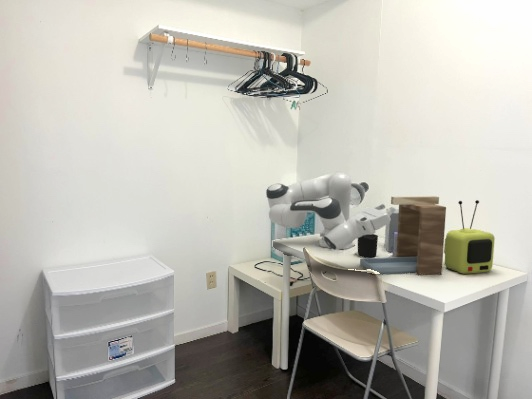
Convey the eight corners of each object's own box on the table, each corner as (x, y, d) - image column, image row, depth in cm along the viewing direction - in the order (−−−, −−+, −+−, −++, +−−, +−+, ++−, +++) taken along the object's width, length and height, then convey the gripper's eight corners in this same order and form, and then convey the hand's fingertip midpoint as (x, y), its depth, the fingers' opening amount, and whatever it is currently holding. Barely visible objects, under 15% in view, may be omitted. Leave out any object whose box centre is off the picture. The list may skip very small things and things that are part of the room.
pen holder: (373, 259, 187) (374, 238, 186) (354, 256, 192) (354, 235, 191) (379, 255, 195) (380, 234, 194) (360, 252, 200) (361, 232, 199)
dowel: (390, 203, 170) (391, 196, 170) (434, 203, 173) (435, 196, 173) (394, 204, 167) (394, 197, 167) (438, 204, 170) (439, 197, 170)
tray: (359, 265, 178) (360, 258, 177) (416, 263, 182) (417, 256, 181) (372, 275, 164) (373, 267, 163) (434, 272, 168) (434, 265, 167)
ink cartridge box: (413, 257, 191) (414, 227, 189) (415, 260, 185) (416, 229, 184) (391, 256, 193) (393, 226, 191) (392, 259, 187) (394, 228, 186)
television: (463, 276, 163) (468, 203, 159) (433, 264, 180) (437, 197, 177) (497, 272, 168) (503, 201, 164) (465, 261, 185) (469, 196, 182)
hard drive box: (403, 253, 199) (405, 213, 197) (387, 252, 200) (389, 212, 198) (398, 245, 214) (400, 208, 212) (384, 245, 216) (385, 208, 213)
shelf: (396, 261, 183) (399, 200, 180) (416, 261, 185) (420, 200, 181) (419, 275, 164) (422, 207, 160) (441, 274, 165) (446, 207, 162)
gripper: (355, 225, 178) (381, 209, 179) (374, 235, 158) (403, 217, 159) (348, 213, 177) (375, 197, 178) (366, 221, 157) (396, 203, 157)
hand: (388, 207), depth 168 cm, fingers open, 8 cm apart
